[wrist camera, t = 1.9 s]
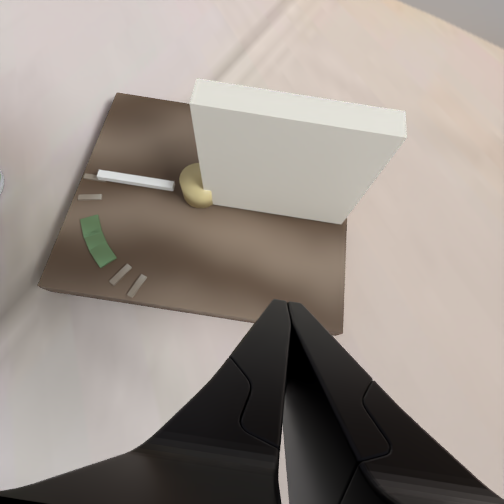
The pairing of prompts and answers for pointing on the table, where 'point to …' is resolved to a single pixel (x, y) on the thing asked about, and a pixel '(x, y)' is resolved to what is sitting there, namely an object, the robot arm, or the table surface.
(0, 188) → the supplement bottle
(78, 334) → the table surface
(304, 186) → the upright white panel
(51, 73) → the table surface
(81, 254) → the tuner board
